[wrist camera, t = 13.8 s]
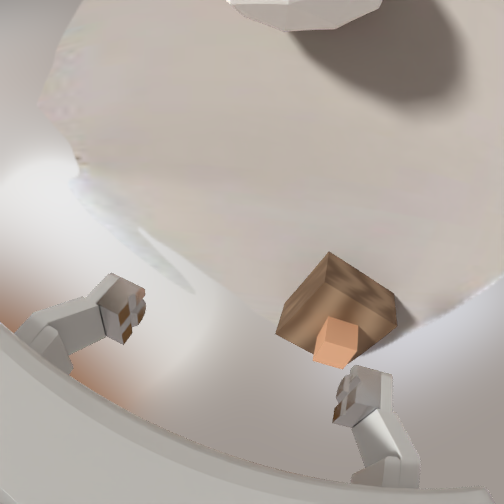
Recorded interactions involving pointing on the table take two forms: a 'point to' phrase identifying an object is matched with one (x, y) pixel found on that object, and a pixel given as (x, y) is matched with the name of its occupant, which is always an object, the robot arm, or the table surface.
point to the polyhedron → (304, 12)
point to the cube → (336, 343)
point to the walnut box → (337, 306)
